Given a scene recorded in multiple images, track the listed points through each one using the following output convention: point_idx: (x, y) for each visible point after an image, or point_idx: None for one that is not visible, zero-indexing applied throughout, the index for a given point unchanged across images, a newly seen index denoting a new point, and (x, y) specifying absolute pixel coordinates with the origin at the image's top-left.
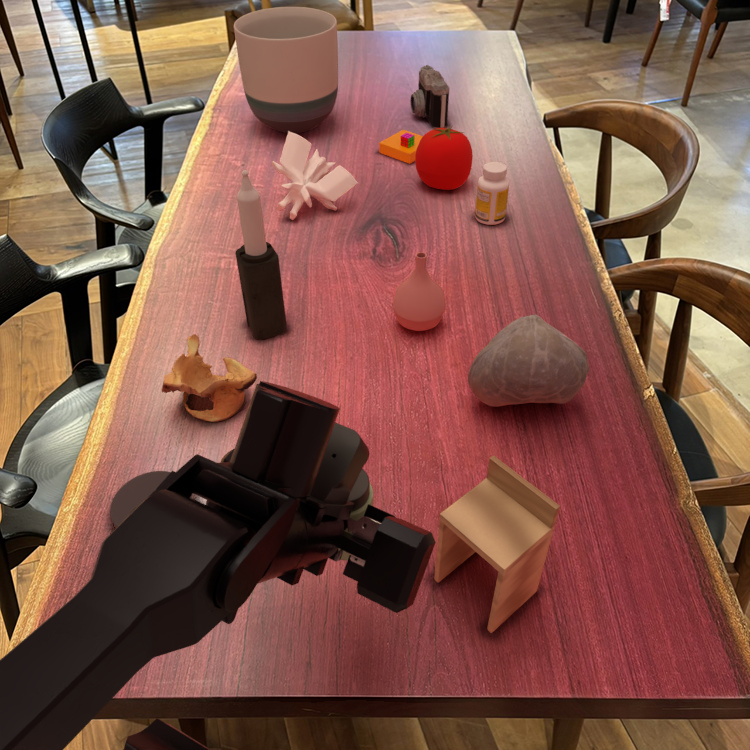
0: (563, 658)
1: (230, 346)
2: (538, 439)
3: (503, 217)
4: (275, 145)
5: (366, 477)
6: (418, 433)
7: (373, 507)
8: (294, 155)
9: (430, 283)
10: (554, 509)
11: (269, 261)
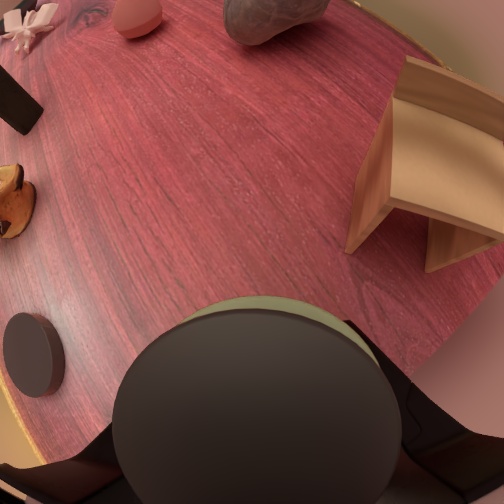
0: (483, 252)
1: (11, 156)
2: (320, 53)
3: None
4: (13, 37)
5: (351, 359)
6: (206, 102)
7: (490, 490)
8: (12, 21)
9: None
10: None
11: None
